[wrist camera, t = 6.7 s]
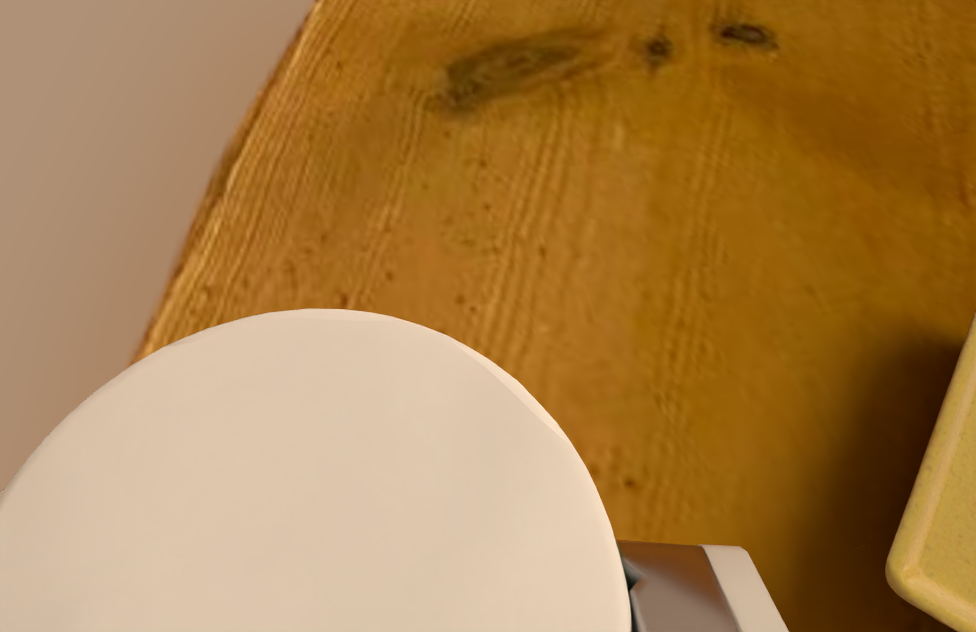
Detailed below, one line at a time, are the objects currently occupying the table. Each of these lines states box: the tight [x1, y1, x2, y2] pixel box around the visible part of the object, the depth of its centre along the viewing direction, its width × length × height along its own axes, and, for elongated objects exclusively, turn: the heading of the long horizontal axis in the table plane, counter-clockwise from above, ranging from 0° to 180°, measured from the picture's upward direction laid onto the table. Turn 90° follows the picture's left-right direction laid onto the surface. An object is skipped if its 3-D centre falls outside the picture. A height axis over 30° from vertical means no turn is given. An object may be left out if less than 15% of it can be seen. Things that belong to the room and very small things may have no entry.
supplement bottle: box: [0, 309, 632, 632], centre depth 8 cm, size 5×5×10 cm
